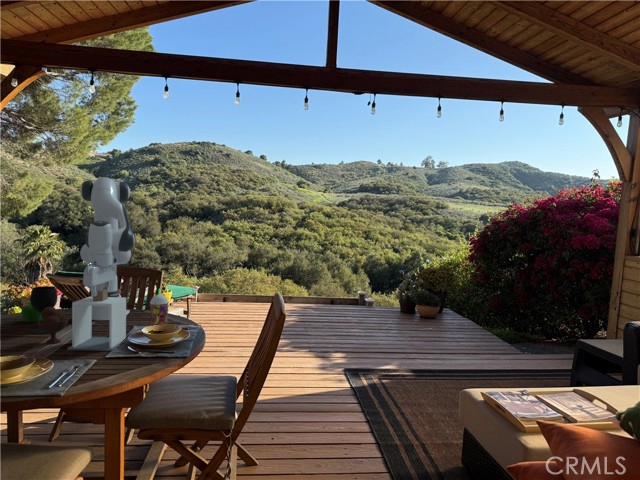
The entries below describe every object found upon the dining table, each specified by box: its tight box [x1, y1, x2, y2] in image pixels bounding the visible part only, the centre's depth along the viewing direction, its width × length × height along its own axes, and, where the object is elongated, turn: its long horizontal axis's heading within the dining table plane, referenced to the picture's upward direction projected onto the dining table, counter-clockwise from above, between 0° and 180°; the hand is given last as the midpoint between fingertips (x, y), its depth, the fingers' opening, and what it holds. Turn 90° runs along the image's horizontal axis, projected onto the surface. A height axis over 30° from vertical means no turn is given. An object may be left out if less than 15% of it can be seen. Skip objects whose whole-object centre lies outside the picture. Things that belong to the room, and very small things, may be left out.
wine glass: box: [29, 285, 58, 335], centre depth 192 cm, size 10×10×20 cm
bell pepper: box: [21, 301, 42, 324], centre depth 209 cm, size 8×8×10 cm
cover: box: [71, 290, 127, 348], centre depth 176 cm, size 13×16×22 cm
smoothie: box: [149, 288, 170, 327], centre depth 199 cm, size 8×8×20 cm
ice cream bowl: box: [36, 306, 69, 345], centre depth 177 cm, size 11×11×15 cm
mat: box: [66, 336, 121, 352], centre depth 176 cm, size 16×18×1 cm
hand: (100, 293), depth 175 cm, fingers open, 8 cm apart
